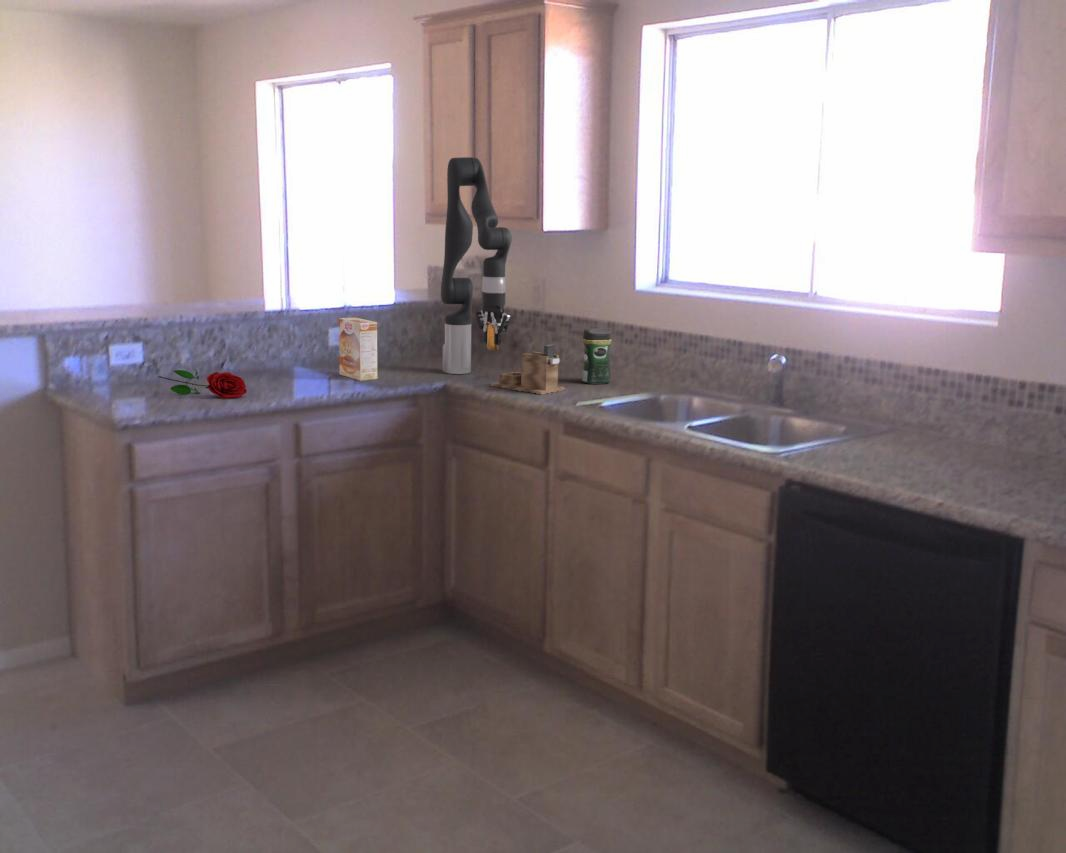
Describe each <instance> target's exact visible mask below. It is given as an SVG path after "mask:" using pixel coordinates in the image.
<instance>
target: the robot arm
mask: <svg viewBox="0 0 1066 853" xmlns="http://www.w3.org/2000/svg"><path fill="white" fill-rule="evenodd" d="M446 172H447V173H446V176H447V178H446V179H447V180H446V181H447V182H446V183H447V184H446V185H447V188H446V189H447V192H446V193H447V207H446V218H445V219H446V220H445V233H444V256H443V257H444V259H443V267H442V268H443V269H442V275H441V282H440V283H441V284H440V301H442V303H443V304H444V305H461V307H460V308H459V309H457V310H456V311H454V312H451V313H449V314H448V313H447V314H446V315H445V317H444V344H442V372H444V373H445V374H452V375H466V374H470V373H471V372H472V370H471V368H472V367H471V366H472V364H471V363H472V316H473V315H472V314H473V313H472V312H473V311H472V308H473V307H472V306H473V292H474V289H473V287H474V286H473V282H472V279H471V278H470V277H454V273H455V271H456V268H457V266H458V264H459V262H460V261H461V260H462V259H463V257H464V256H465V255H466V253H467V252H468V250H469V249H470V248H471V245H472V242H473V229H474V225H473V220H472V218H471V216H470V215H469V213H468V211H467V209H466V208H465V206H464V204H463V202H462V200H461V193H460V187H471V186H474V187H475V189H476V191H475V195H474V196H473V198H472V201H471V208H470V210H471V214H472V216H473V218H474V221H475V223H476V228H477V241H478V242H477V243H478V245H479V246H480V247H481V248H482V249H483V250H486V251H496V252H495V254H494V255H493V256H489V257H486V258H484V260H483V262H482V263H483V264H482V267H483V268H482V269H483V270H482V276H483V277H482V284H481V305H482V306H483V307H482V309H481V310H478V311H475V316H476V320H477V324H478V328H479V330H482V331H483V332H484V333H483V340H484V343H485V344H486V345H487V324H493V326H494V328H495V333H496V334H495V339H494V344H495V345H498V346H499V345H501V344H502V336H503V333H504V332H507V330H508V328H509V325H510V322H511V319H512V315H511V314H507V313H506V312H505V306H506V289H507V288H506V287H507V286H506V285H507V284H506V282H507V281H506V263H507V258H508V255H509V251H510V248H511V244H512V234H511V231H510V230H509V229H508V228H507V227H499V226H498V224H499V217H498V215H497V213H496V210H495V208H494V206H493V203H492V201H491V196H490V194H489V189H488V188H489V187H488V184H487V180H486V175H485V171H484V168H483V165H482V162H481V160H480V159H479V158H477V157H474V156H473V157H471V156H470V157H469V156H467V157H452V158H450V159H449V161H448V164H447V171H446ZM497 226H498V227H497ZM498 327H499V329H498Z"/></svg>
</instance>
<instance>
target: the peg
mask: <svg viewBox="0 0 1066 853" xmlns="http://www.w3.org/2000/svg"><path fill="white" fill-rule="evenodd" d="M498 329H499V327H498ZM495 334H496V333H495V328H494V326H493V324H487V344H486V350H488V351H497V350H499V345H495V344H494V339H495Z"/></svg>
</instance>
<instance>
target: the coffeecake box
mask: <svg viewBox="0 0 1066 853" xmlns="http://www.w3.org/2000/svg"><path fill="white" fill-rule="evenodd" d="M338 344H339V345H338V346H339V348H338V350H339V352H338V353H339V354H338V356H339V375H341V376H343V377H344V376H345V377H347V378H351V379H354V380H357V381H371V380H378V322H377V321H373V320H369V319H363V318H359V317H339V318H338Z"/></svg>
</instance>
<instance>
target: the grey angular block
mask: <svg viewBox="0 0 1066 853" xmlns="http://www.w3.org/2000/svg"><path fill="white" fill-rule="evenodd" d="M555 347H556V346H555V344H543V353H544V356H547V357H548V364H557V363H558V364H560V362H561V359H560V358H555V357H554V355H555V350H556V349H555ZM533 355H534V354H533ZM540 356H541V355H540Z"/></svg>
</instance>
